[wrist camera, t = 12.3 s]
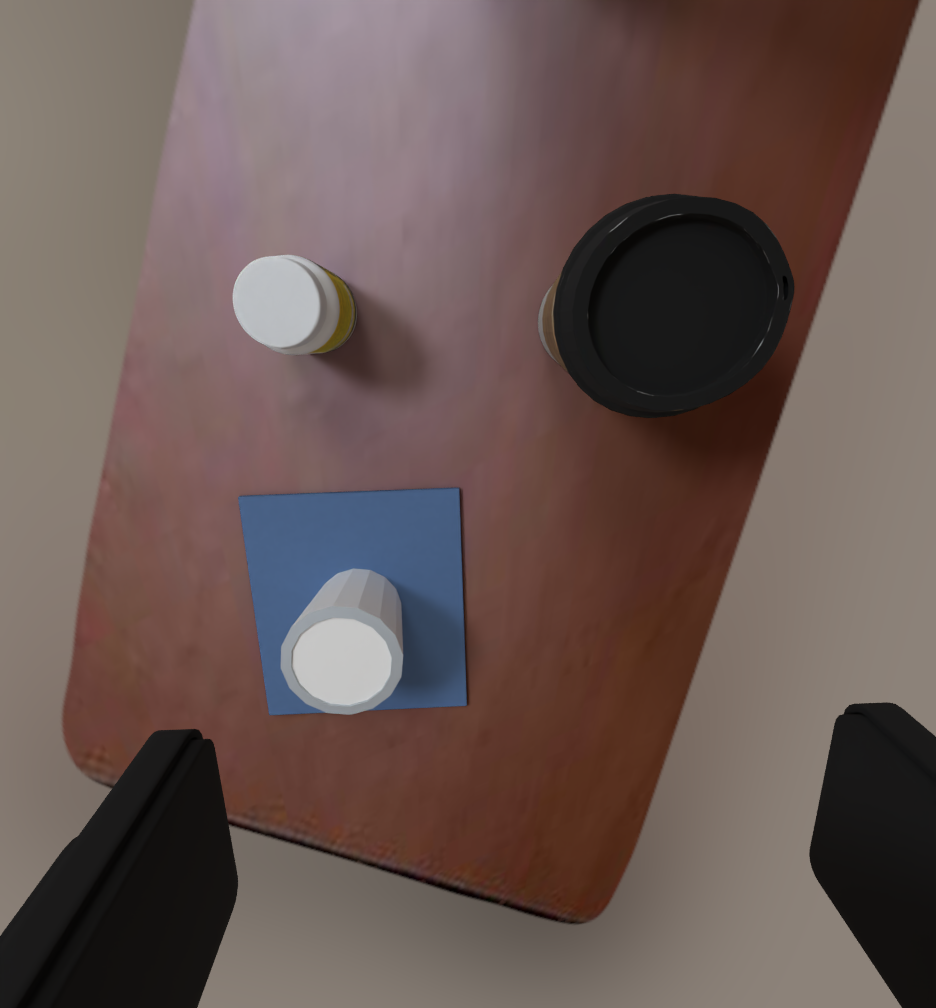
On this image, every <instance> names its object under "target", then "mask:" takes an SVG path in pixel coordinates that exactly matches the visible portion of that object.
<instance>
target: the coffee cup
mask: <svg viewBox="0 0 936 1008" xmlns="http://www.w3.org/2000/svg"><path fill="white" fill-rule="evenodd" d="M793 295H794V280H793V276H792V273H791V270H790V267H789V264H788V262H787V259H786V257H785V254H784V252H783V250H782V248H781V246H780V244H779V242H778V240H777V238H776V237H775V235H774V234H773V233H772V231H771V230H770V228H769V227H768V226H767V224H765V223H764V222H763V221H762V220H761V219H760V218H759V217H758V216H757V215H755V214H754V213H753V212H751V211H749V210H747V209H745V208H743V207H742V206H740V205H738V204H736V203H732V202H728V201H725V200H721V199H717V198H708V197H697V196H689V195H681V194H667V195H657V196H650V197H645V198H642V199H639V200H636V201H633V202H630V203H627V204H625V205H623V206H621V207H619V208H618V209H616V210H614V211H612V212H611V213H609V214H607V215H605V216H604V217H603V218H602V219H601V220H600V221H598V222H597V223H596V224H595V225H594V226H592V227H591V228H590V229H589V230H588V231H587V232H586V234H585V235H584V236H583V237H582V238H581V240H580V241H579V242H578V243H577V245H576V246H575V247H574V249H573V250H572V252H571V254H570V256H569V258H568V260H567V262H566V264H565V265H564V267H563V270H562V272H561V273H560V275H559V276H558V278H557V279H556V281H555V282H554V284H553V285H552V286H551V288H550V289H549V290H548V291H547V293H546V295H545V297H544V299H543V301H542V304H541V307H540V310H539V317H538V330H539V335H540V338H541V341H542V344H543V346H544V348H545V350H546V351H547V352H548V354H549V355H550V356H551V358H553V359H554V360H555V361H556V362H557V363H558V364H560V365H561V366H562V367H563V368H564V369H565V370H566V371H567V372H568V373H569V374H570V375H571V377H572V378H573V379H574V381H575V382H576V383H577V385H578V386H579V387H580V388H581V389H582V390H583V391H584V392H585V393H586V394H587V395H588V396H590V397H591V398H592V399H593V400H594V401H596V402H597V403H599V404H601V405H603V406H605V407H606V408H608V409H610V410H612V411H615V412H619V413H622V414H625V415H628V416H635V417H645V418H657V417H666V416H675V415H678V414H681V413H685V412H688V411H691V410H694V409H696V408H698V407H700V406H703V405H706V404H710V403H712V402H714V401H716V400H718V399H721V398H723V397H725V396H727V395H729V394H731V393H732V392H734V391H735V390H737V389H738V388H740V387H741V386H743V385H744V384H746V383H747V382H748V381H749V380H751V379H752V378H753V377H754V376H755V375H756V374H757V373H758V372H759V371H760V370H761V369H762V368H763V367H764V365H765V364H766V363H767V361H768V360H769V359H770V357H771V356H772V355H773V353H774V351H775V349H776V347H777V345H778V343H779V341H780V339H781V337H782V334H783V332H784V329H785V326H786V323H787V320H788V316H789V313H790V309H791V305H792V300H793Z"/></svg>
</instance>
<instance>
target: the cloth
mask: <svg viewBox="0 0 936 1008" xmlns="http://www.w3.org/2000/svg"><path fill="white" fill-rule="evenodd" d="M238 500H239V507H240V514H241V521H242V528H243V535H244V542H245V549H246V556H247V563H248V570H249V577H250V584H251V591H252V598H253V605H254V612H255V619H256V626H257V633H258V640H259V647H260V654H261V661H262V668H263V674H264V681H265V688H266V695H267V702H268V709H269V715H284V714H305V713H326V712H324V711H322V710H319V709H317V708H315V707H312V706H310V705H308V704H306V703H305V702H304V701H302V700H301V699H300V698H299V697H298V696H297V695H296V694H295V693H294V692H293V691H292V690H291V689H290V688H289V686H288V684H287V681H286V679H285V677H284V674H283V672H282V670H281V646H282V644H283V642H284V640H285V638H286V636H287V634H288V632H289V630H290V628H291V627H292V625H293V624H294V623H295V621H296V620H297V619H298V618H299V616H300V615H301V614H302V612H303V611H304V610H305V609H306V607H307V606H308V605H309V603H310V602H311V601H312V600H313V598H314V597H315V596H316V594H317V593H318V592H319V591H320V589H321V588H322V587H323V585H324V584H325V583H326V582H327V581H329V580H330V579H331V578H332V577H334V576H335V575H336V574H337V573H340V572H343V571H347V570H350V569H365V570H371V571H373V572H376V573H378V574H380V575H382V576H384V577H386V578H387V580H388V581H389V582H390V583H391V584H392V585H393V586H394V587H395V588H396V590H397V593H398V595H399V598H400V601H401V608H402V636H403V664H402V675H401V678H400V680H399V682H398V684H397V685H396V687H395V689H394V691H393V692H392V694H391V695H390V696H389V697H388V698H386V699H385V700H384V701H382V702H381V703H380V704H378V705H377V706H376V707H374V708H373V709H369V710H388V709H409V708H429V707H450V706H467V694H466V666H465V637H464V609H463V580H462V552H461V523H460V495H459V488H433V489H406V490H380V491H354V492H327V493H301V494H275V495H248V496H239V497H238ZM366 711H367V710H366Z"/></svg>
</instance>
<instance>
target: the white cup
mask: <svg viewBox="0 0 936 1008" xmlns="http://www.w3.org/2000/svg"><path fill="white" fill-rule="evenodd" d="M402 664H403V636H402V608H401V601H400V598H399V595H398V593H397V590H396V588H395V587H394V586H393V585H392V584H391V583H390V582H389V581H388V580H387V578H386V577H384V576H382V575H380V574H378V573H376V572H373V571H371V570H365V569H350V570H347V571H343V572H340V573H337V574H336V575H335V576H334V577H332V578H331V579H330V580H329V581H327V582H326V583H325V584H324V585H323V587H322V588H321V589H320V591H319V592H318V593H317V594H316V596H315V597H314V598H313V600H312V601H311V602H310V603H309V605H308V606H307V607H306V609H305V610H304V611H303V612H302V614H301V615H300V616H299V618H298V619H297V620H296V621H295V623H294V624H293V625H292V627H291V628H290V630H289V632H288V634H287V636H286V638H285V640H284V642H283V644H282V646H281V670H282V672H283V674H284V677H285V679H286V681H287V684H288V686H289V688H290V689H291V690H292V691H293V692H294V693H295V694H296V695H297V696H298V697H299V698H300V699H301V700H302V701H304V702H305V703H306V704H308V705H310V706H312V707H315V708H317V709H319V710H322V711H324V712H326V713H335V714H349V715H351V714H355V713H358V712H362V711H366V710H369V709H373V708H374V707H376V706H377V705H378V704H380V703H381V702H382V701H384V700H385V699H386V698H388V697H389V696H390V695H391V694H392V692H393V691H394V689H395V687H396V685H397V684H398V682H399V680H400V678H401V675H402Z"/></svg>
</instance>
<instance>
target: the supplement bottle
mask: <svg viewBox="0 0 936 1008" xmlns="http://www.w3.org/2000/svg"><path fill="white" fill-rule="evenodd" d="M233 306H234V311H235V314H236V316H237V319H238V321H239V323H240V324H241V326H242V327H243V329H244V330H245V331H246V333H248V334H249V335H250V336H251V337H252V338H253V339H254V340H256V341H258V342H259V343H261V344H263V345H265V346H266V347H268V348H270V349H272V350H274V351H276V352H279V353H282V354H286V355H303V354H314V353H325V352H329V351H332V350H335V349H337V348H339V347H340V346H342V345H343V344H344V343H345V342H346V341H347V340H348V339H349V338H350V336H351V334H352V333H353V331H354V328H355V325H356V320H357V307H356V303H355V299H354V296H353V294H352V292H351V290H350V289H349V287H348V286H347V285H346V283H345V282H344V281H343V280H342V279H340V278H339V277H338V276H337V275H335V274H333V273H332V272H330V271H328V270H327V269H325V268H323V267H321V266H319V265H318V264H316V263H314V262H313V261H311V260H308V259H306V258H303V257H299V256H295V255H279V256H267V257H262V258H259V259H257V260H255V261H253V262H251V263H250V264H248V265H247V266H246V267H245V268H244V269H243V270H242V271H241V273H240V274H239V276H238V278H237V280H236V282H235V286H234V290H233Z"/></svg>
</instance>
